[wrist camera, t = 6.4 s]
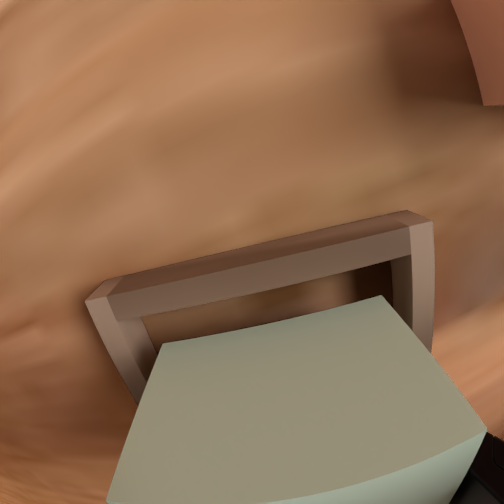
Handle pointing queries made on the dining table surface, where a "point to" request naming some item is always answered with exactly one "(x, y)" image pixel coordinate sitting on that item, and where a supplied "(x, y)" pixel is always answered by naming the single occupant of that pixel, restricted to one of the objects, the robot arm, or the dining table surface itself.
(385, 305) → the sage block
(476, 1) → the terracotta cube
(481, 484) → the robot arm
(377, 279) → the dining table surface
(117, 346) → the walnut frame
